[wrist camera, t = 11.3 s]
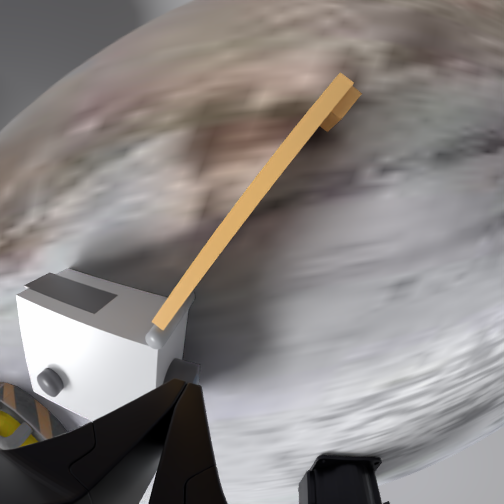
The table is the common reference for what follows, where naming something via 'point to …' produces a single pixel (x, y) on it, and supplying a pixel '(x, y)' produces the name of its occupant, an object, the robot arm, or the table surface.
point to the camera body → (96, 343)
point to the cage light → (24, 419)
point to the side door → (251, 203)
